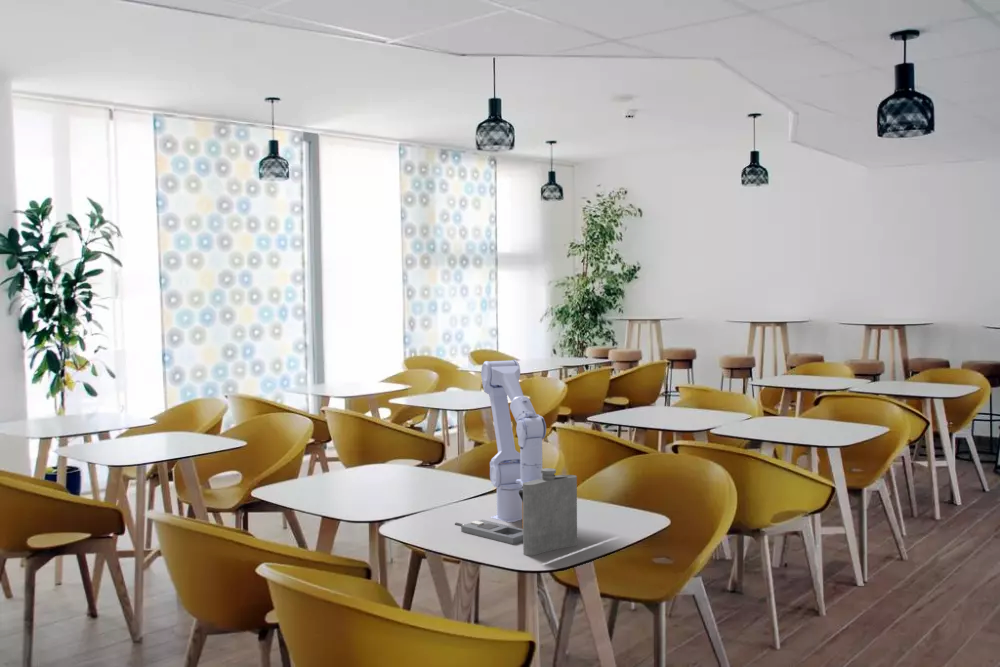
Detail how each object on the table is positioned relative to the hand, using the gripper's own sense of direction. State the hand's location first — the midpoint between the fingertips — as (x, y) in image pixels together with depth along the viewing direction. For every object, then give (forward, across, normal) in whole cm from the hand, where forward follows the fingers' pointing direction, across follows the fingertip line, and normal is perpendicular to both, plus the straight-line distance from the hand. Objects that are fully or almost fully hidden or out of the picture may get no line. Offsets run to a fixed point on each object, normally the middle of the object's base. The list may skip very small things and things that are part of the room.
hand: (531, 515), depth 233 cm
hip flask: (+5, +15, +6) cm, 17 cm away
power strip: (+5, +2, -11) cm, 12 cm away
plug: (+3, 0, 0) cm, 4 cm away
